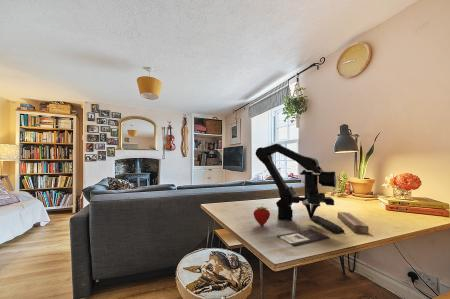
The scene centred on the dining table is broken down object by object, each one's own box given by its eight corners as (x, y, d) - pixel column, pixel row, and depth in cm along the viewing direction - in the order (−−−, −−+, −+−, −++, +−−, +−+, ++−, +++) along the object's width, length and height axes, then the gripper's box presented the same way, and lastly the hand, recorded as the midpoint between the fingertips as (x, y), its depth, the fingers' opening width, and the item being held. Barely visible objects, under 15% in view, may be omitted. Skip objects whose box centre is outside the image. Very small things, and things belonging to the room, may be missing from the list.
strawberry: (251, 224, 94) (251, 202, 94) (266, 223, 95) (266, 201, 96) (256, 228, 88) (256, 205, 88) (272, 227, 90) (272, 204, 90)
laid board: (353, 232, 86) (353, 224, 86) (337, 217, 106) (337, 211, 106) (368, 233, 85) (368, 225, 85) (349, 218, 105) (349, 212, 105)
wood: (352, 234, 84) (352, 227, 84) (335, 235, 83) (335, 227, 83) (320, 218, 106) (320, 212, 106) (306, 218, 105) (306, 212, 105)
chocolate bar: (329, 237, 79) (294, 244, 72) (329, 239, 79) (294, 247, 72) (311, 229, 88) (277, 235, 80) (311, 231, 88) (277, 237, 80)
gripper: (292, 186, 90) (291, 222, 90) (338, 188, 87) (338, 226, 86) (289, 183, 101) (289, 214, 101) (330, 184, 98) (330, 218, 97)
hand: (310, 218), depth 96 cm, fingers closed
